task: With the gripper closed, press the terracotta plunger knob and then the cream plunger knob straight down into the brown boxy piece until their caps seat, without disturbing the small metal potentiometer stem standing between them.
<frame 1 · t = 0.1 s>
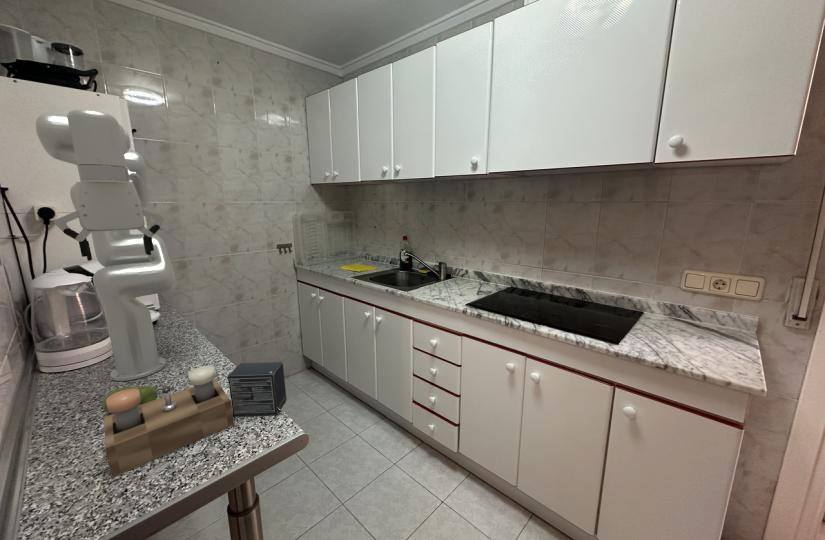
hand: (120, 257, 71), 37 cm above the counter, tool pointing down, fingers open, 9 cm apart
small box: (261, 408, 77), on the counter
knob terracotta: (126, 412, 63), point 8 cm above the counter, slide at 0.0 cm
pot stem: (169, 408, 67), point 6 cm above the counter, touching brown boxy piece
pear: (133, 406, 78), on the counter
knob cream: (204, 386, 71), point 8 cm above the counter, slide at 0.0 cm
brown boxy piece: (174, 433, 69), on the counter
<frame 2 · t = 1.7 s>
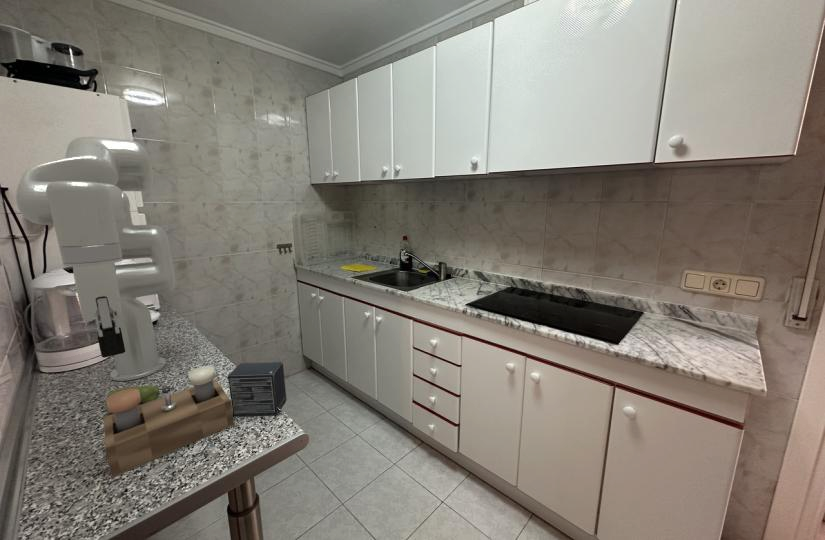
hand: (113, 351, 60), 21 cm above the counter, tool pointing down, fingers closed
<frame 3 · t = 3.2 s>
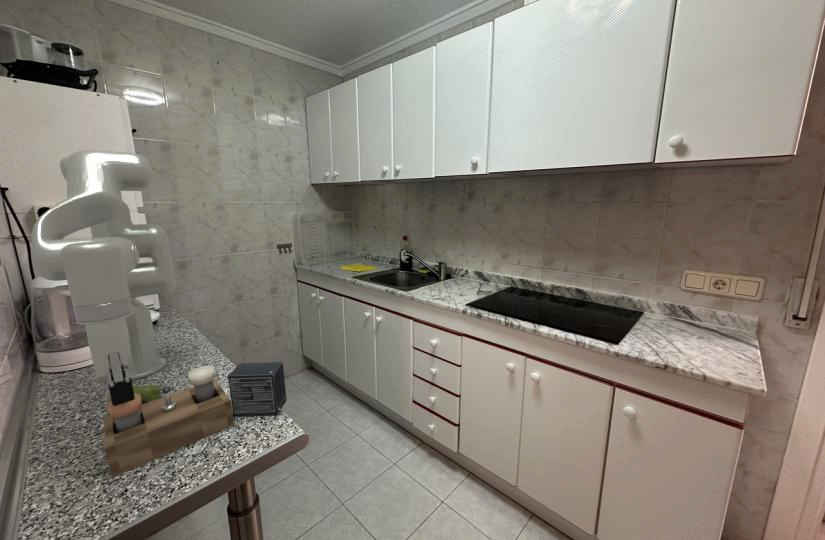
hand: (123, 400, 62), 11 cm above the counter, tool pointing down, fingers closed
knob terracotta: (127, 417, 63), point 7 cm above the counter, slide at 1.1 cm, touching gripper
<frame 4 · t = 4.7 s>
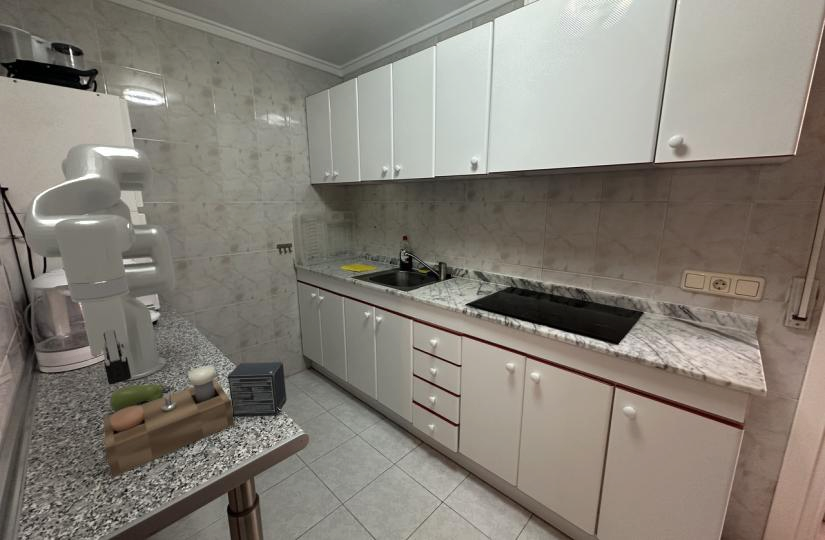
hand: (120, 379, 62), 15 cm above the counter, tool pointing down, fingers closed
knob terracotta: (130, 430, 63), point 4 cm above the counter, slide at 3.8 cm
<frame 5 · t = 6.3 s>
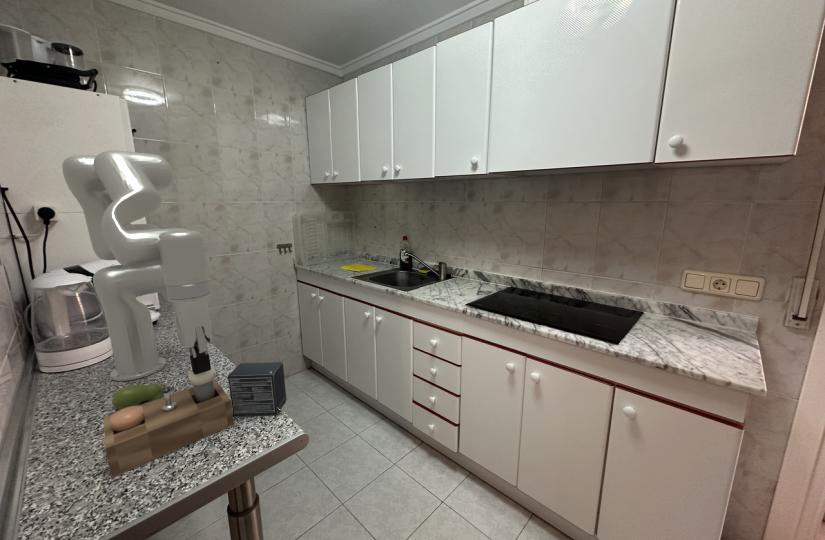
hand: (201, 371, 71), 12 cm above the counter, tool pointing down, fingers closed
knob cream: (204, 386, 71), point 8 cm above the counter, slide at 0.0 cm, touching gripper
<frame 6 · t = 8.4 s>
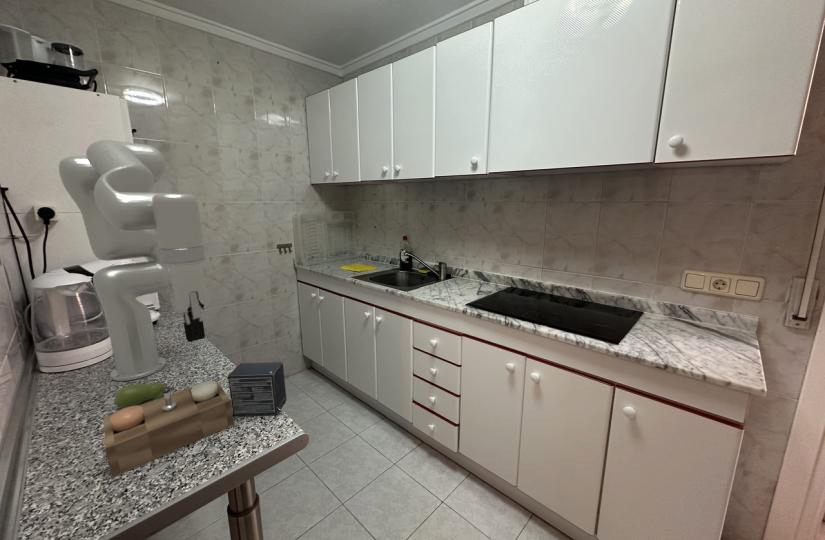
hand: (195, 338, 70), 19 cm above the counter, tool pointing down, fingers closed
knob cream: (206, 401, 72), point 4 cm above the counter, slide at 3.8 cm
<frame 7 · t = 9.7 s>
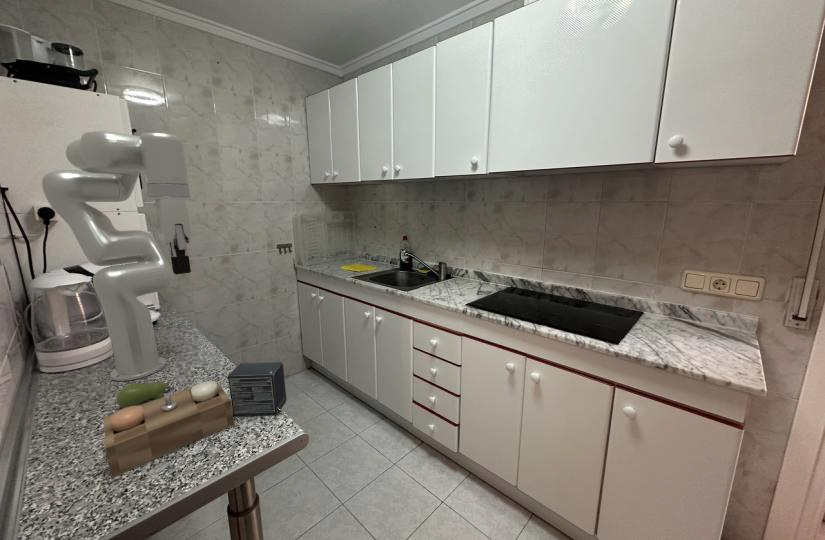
hand: (182, 272, 76), 32 cm above the counter, tool pointing down, fingers closed
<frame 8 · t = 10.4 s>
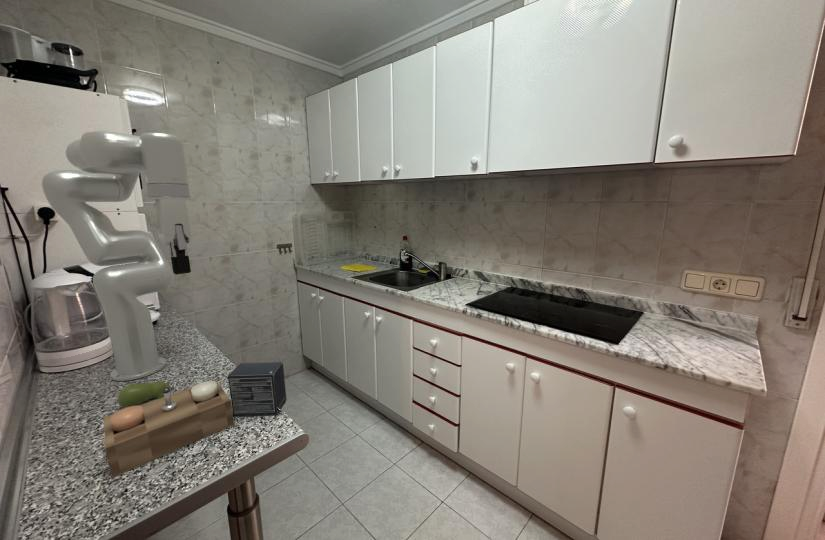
hand: (182, 272, 76), 32 cm above the counter, tool pointing down, fingers closed
at the end: knob terracotta slide at 3.8 cm; knob cream slide at 3.8 cm; pot stem tilted 0° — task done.
